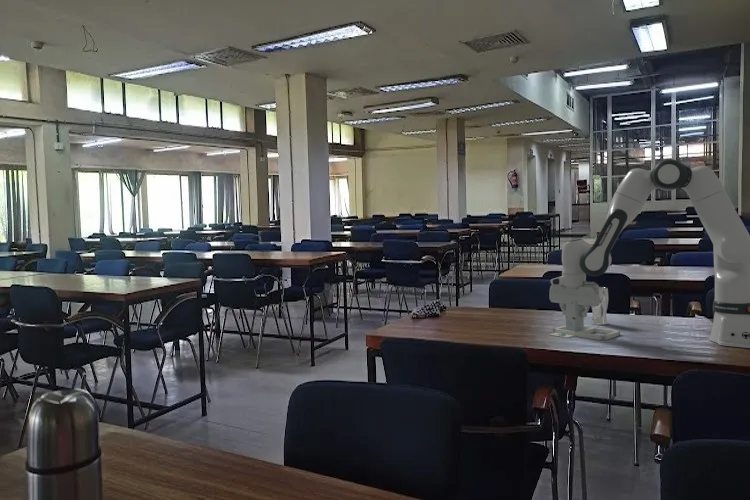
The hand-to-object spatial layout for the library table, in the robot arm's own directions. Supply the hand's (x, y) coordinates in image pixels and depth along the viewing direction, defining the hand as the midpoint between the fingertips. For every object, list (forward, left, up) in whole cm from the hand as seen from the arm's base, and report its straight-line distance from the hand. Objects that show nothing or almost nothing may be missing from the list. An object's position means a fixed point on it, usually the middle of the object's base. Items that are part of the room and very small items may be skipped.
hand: (574, 315), depth 231 cm
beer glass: (+1, -21, -7) cm, 22 cm away
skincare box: (0, 0, -6) cm, 6 cm away
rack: (-5, +3, -7) cm, 8 cm away
